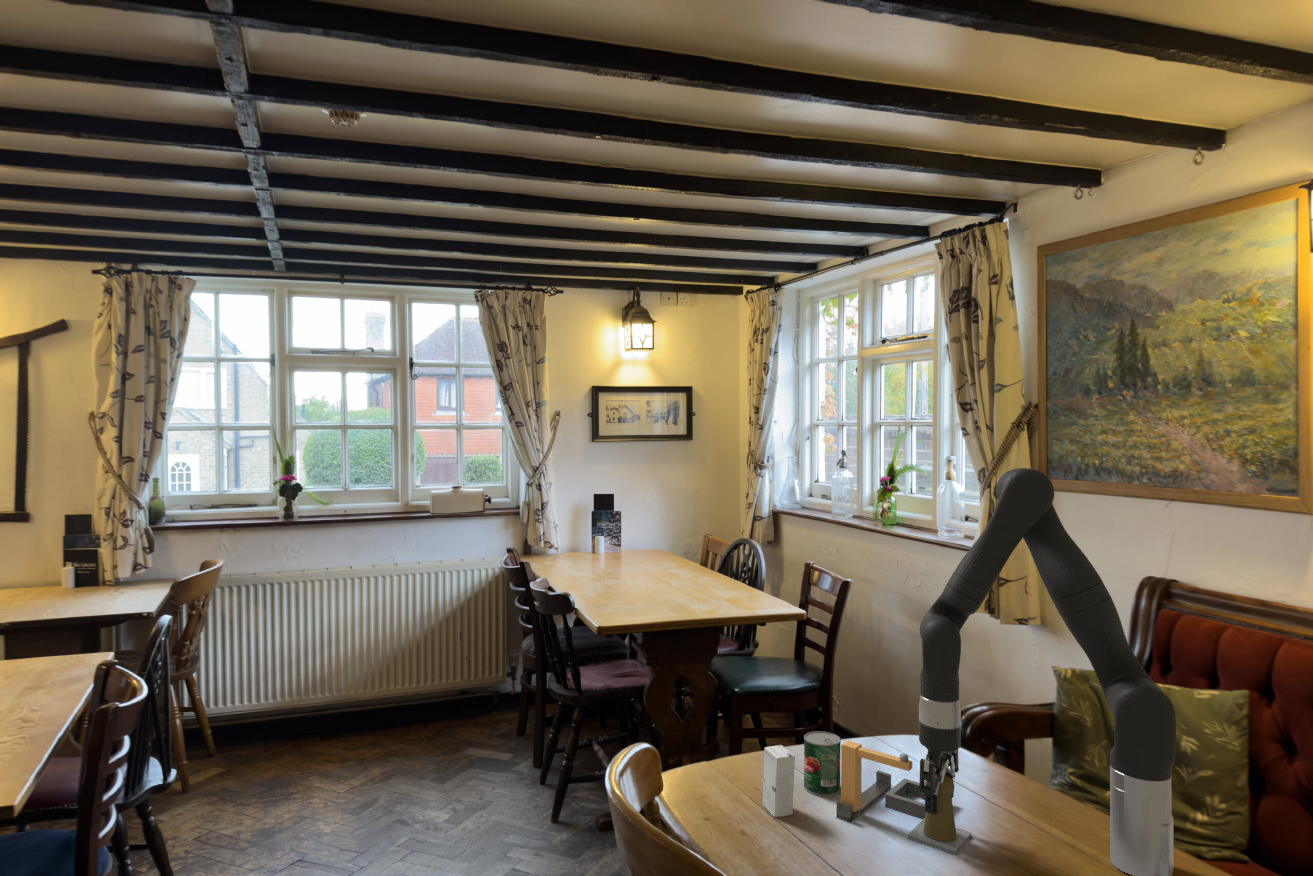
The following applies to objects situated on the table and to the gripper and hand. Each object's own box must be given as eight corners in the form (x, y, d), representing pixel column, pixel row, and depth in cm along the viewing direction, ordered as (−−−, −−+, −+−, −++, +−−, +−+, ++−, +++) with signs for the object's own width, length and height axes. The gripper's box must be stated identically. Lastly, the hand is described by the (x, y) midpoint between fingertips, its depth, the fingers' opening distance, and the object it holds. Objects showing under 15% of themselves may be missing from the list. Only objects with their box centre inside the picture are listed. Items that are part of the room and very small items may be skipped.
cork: (959, 843, 140) (959, 784, 140) (925, 839, 141) (925, 781, 142) (954, 828, 146) (954, 771, 146) (921, 824, 147) (921, 768, 148)
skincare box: (761, 804, 156) (762, 746, 157) (781, 802, 158) (781, 744, 158) (775, 818, 151) (775, 758, 151) (795, 815, 152) (795, 755, 152)
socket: (950, 804, 157) (950, 792, 157) (933, 822, 150) (933, 809, 150) (904, 790, 164) (904, 778, 164) (885, 806, 156) (885, 794, 156)
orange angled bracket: (913, 824, 146) (913, 755, 146) (907, 830, 144) (907, 759, 144) (847, 802, 155) (847, 737, 155) (841, 807, 153) (841, 741, 153)
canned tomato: (796, 786, 165) (796, 736, 165) (819, 777, 170) (819, 728, 170) (824, 800, 159) (824, 747, 159) (848, 790, 164) (848, 739, 164)
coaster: (971, 835, 144) (971, 832, 144) (955, 855, 137) (955, 851, 137) (924, 820, 150) (924, 817, 150) (907, 838, 143) (907, 835, 143)
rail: (891, 788, 164) (891, 774, 165) (850, 822, 149) (850, 807, 149) (878, 784, 166) (878, 770, 166) (836, 817, 151) (836, 802, 151)
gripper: (946, 735, 136) (946, 825, 136) (971, 715, 147) (971, 798, 147) (906, 725, 141) (905, 812, 141) (933, 706, 152) (933, 786, 152)
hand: (939, 805), depth 144 cm, fingers open, 8 cm apart
